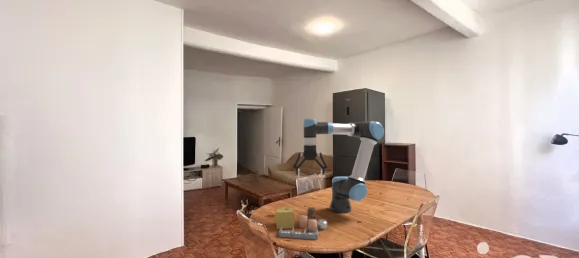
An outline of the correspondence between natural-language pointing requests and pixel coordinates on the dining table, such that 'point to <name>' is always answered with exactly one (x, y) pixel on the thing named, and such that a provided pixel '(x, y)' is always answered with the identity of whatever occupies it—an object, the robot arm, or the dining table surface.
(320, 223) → the chrome metal ball
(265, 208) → the dining table surface
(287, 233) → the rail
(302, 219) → the brown egg
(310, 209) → the walnut post
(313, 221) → the pale pink egg
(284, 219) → the cheese
